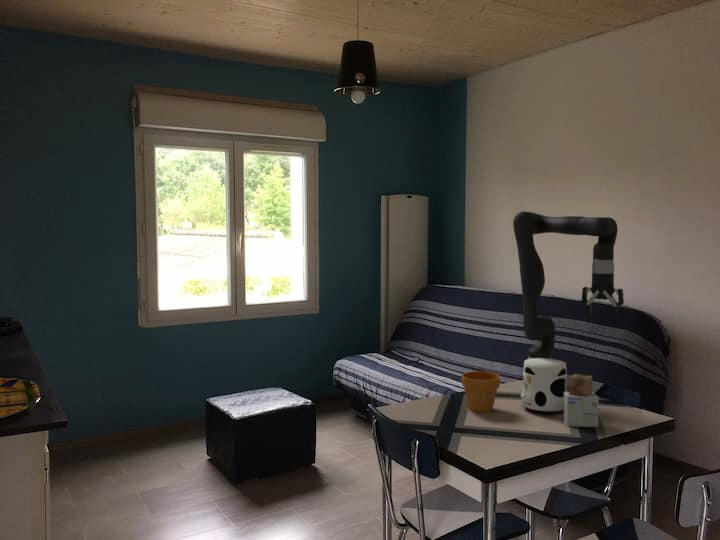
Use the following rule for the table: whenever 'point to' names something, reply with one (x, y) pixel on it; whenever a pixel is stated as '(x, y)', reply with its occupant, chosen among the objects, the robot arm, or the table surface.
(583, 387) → the walnut block
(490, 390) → the flower pot
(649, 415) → the table surface
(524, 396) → the milk container
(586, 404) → the light bulb box
